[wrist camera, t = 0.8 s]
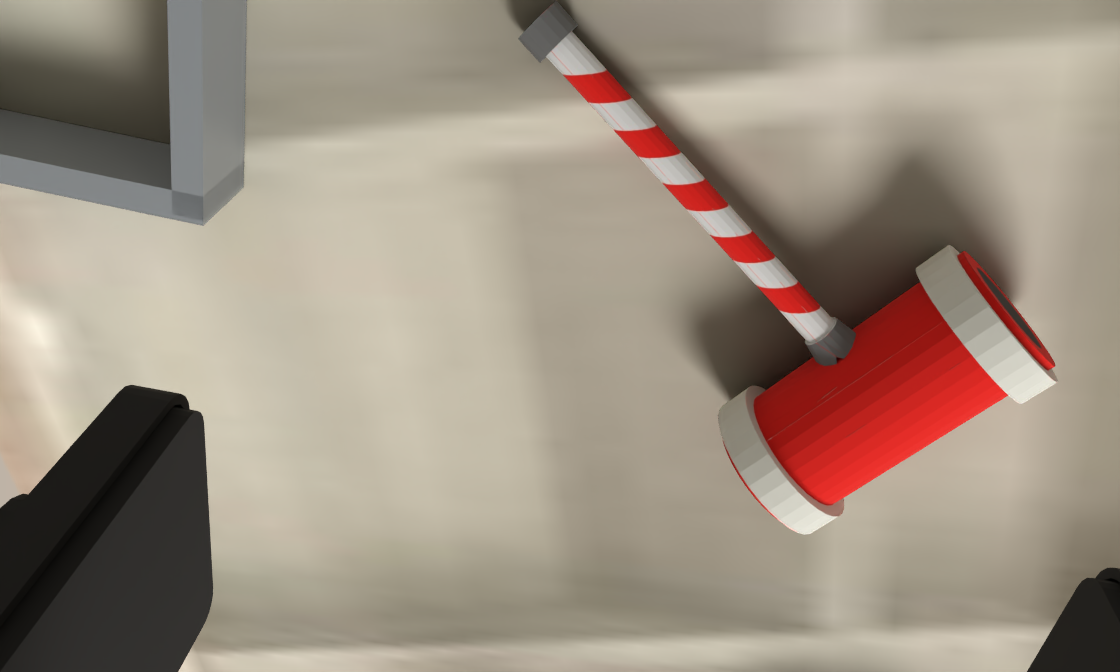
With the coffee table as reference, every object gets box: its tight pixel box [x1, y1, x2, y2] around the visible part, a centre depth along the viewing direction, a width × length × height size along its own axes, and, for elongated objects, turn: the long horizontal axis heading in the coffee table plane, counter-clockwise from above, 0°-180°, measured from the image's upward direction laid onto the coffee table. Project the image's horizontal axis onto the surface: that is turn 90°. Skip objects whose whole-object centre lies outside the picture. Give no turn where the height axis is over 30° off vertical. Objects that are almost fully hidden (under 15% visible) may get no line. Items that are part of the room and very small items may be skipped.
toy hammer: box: [519, 1, 1058, 534], centre depth 37 cm, size 23×12×6 cm, turn 45°
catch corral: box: [0, 0, 247, 226], centre depth 36 cm, size 12×13×4 cm
